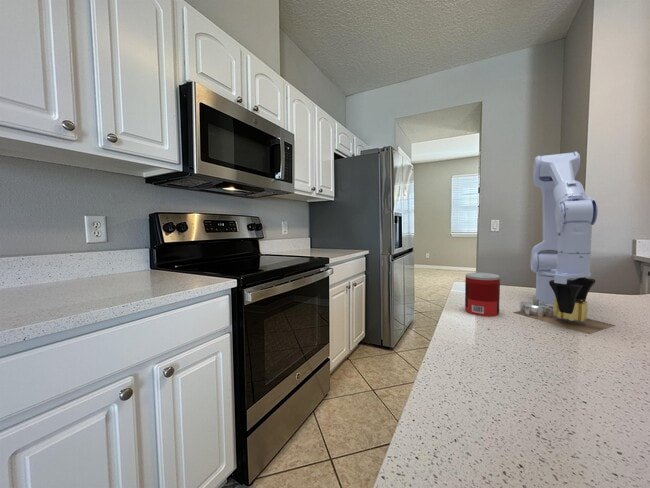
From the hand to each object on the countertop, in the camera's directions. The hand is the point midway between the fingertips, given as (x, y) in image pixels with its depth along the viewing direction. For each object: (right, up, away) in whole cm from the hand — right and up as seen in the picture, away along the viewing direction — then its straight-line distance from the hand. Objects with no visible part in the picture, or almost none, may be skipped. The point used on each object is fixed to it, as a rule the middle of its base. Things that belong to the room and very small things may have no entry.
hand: (571, 310), depth 65 cm
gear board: (0, -4, +3) cm, 5 cm away
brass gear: (0, -2, 0) cm, 2 cm away
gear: (-3, -3, +7) cm, 8 cm away
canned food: (-16, -4, +9) cm, 19 cm away
